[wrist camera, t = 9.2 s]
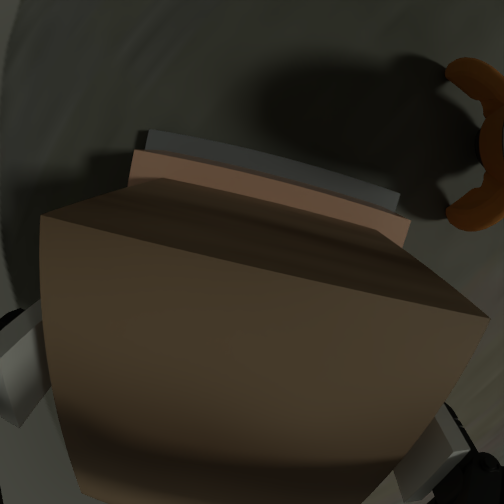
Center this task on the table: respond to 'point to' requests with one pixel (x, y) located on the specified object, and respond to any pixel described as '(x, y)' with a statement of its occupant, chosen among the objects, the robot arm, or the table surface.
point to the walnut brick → (240, 347)
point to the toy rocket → (482, 145)
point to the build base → (272, 165)
